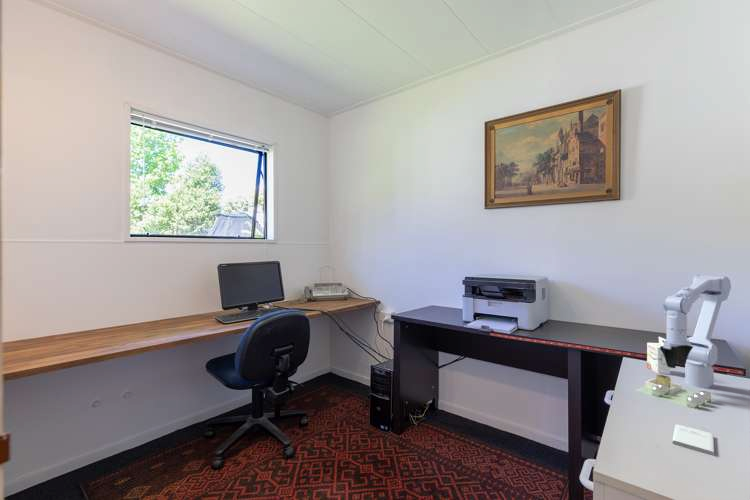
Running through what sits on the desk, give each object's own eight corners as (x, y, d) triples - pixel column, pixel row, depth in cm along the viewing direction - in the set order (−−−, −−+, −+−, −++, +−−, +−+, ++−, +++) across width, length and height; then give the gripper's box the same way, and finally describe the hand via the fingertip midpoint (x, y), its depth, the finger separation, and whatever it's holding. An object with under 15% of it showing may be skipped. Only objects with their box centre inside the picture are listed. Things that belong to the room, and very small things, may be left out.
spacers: (666, 388, 132) (666, 380, 132) (712, 401, 120) (712, 393, 120) (650, 394, 126) (650, 386, 126) (696, 409, 115) (696, 400, 114)
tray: (655, 382, 138) (655, 377, 138) (681, 389, 131) (681, 384, 131) (645, 386, 134) (645, 381, 134) (670, 393, 127) (670, 388, 127)
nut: (658, 384, 135) (658, 373, 135) (673, 388, 131) (673, 377, 131) (653, 385, 133) (653, 375, 133) (667, 390, 129) (667, 379, 129)
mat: (657, 384, 138) (657, 382, 138) (718, 401, 122) (718, 399, 122) (633, 392, 130) (633, 390, 130) (695, 412, 114) (695, 409, 114)
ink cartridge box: (646, 368, 156) (646, 335, 156) (658, 369, 155) (659, 336, 155) (657, 375, 148) (657, 340, 148) (671, 376, 147) (671, 341, 147)
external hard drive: (672, 445, 96) (675, 428, 105) (714, 458, 90) (713, 438, 99) (672, 439, 96) (675, 423, 105) (714, 451, 90) (713, 433, 99)
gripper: (680, 333, 123) (680, 372, 123) (699, 329, 130) (699, 365, 130) (656, 329, 129) (656, 366, 129) (675, 325, 136) (675, 360, 136)
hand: (676, 365), depth 130 cm, fingers open, 7 cm apart
